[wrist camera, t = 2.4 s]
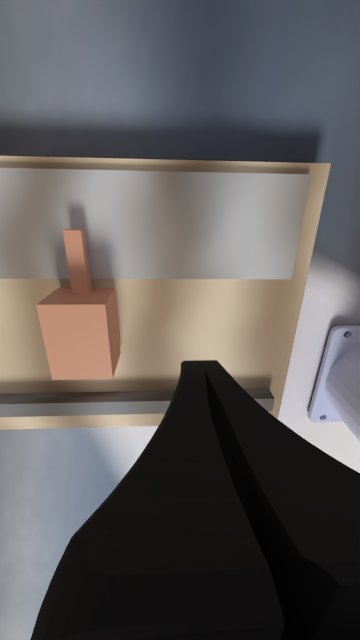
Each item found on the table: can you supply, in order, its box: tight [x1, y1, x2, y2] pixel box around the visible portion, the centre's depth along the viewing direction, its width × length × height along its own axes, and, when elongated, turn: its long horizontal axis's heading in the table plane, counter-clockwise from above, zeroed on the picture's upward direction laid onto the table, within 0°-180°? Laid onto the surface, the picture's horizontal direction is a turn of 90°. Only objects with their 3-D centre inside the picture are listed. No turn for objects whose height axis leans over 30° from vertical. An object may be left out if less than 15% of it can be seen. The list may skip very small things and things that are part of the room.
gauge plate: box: [0, 156, 331, 430], centre depth 15 cm, size 28×16×4 cm, turn 89°
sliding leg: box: [36, 229, 121, 380], centre depth 13 cm, size 3×7×2 cm, turn 179°
